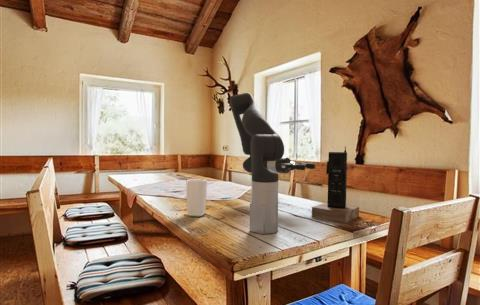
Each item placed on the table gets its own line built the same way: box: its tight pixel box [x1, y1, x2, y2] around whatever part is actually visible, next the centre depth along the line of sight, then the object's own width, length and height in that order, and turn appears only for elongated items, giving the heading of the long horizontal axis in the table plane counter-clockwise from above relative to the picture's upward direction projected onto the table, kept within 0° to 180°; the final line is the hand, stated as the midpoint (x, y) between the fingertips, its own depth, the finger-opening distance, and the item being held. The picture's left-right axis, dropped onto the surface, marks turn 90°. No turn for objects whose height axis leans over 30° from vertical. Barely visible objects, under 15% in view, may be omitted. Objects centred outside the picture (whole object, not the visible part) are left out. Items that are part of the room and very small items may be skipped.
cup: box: [185, 178, 208, 218], centre depth 123 cm, size 7×7×15 cm
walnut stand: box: [311, 201, 360, 224], centre depth 123 cm, size 14×14×4 cm
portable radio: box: [325, 145, 348, 209], centre depth 123 cm, size 8×6×25 cm
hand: (310, 167), depth 130 cm, fingers open, 8 cm apart
